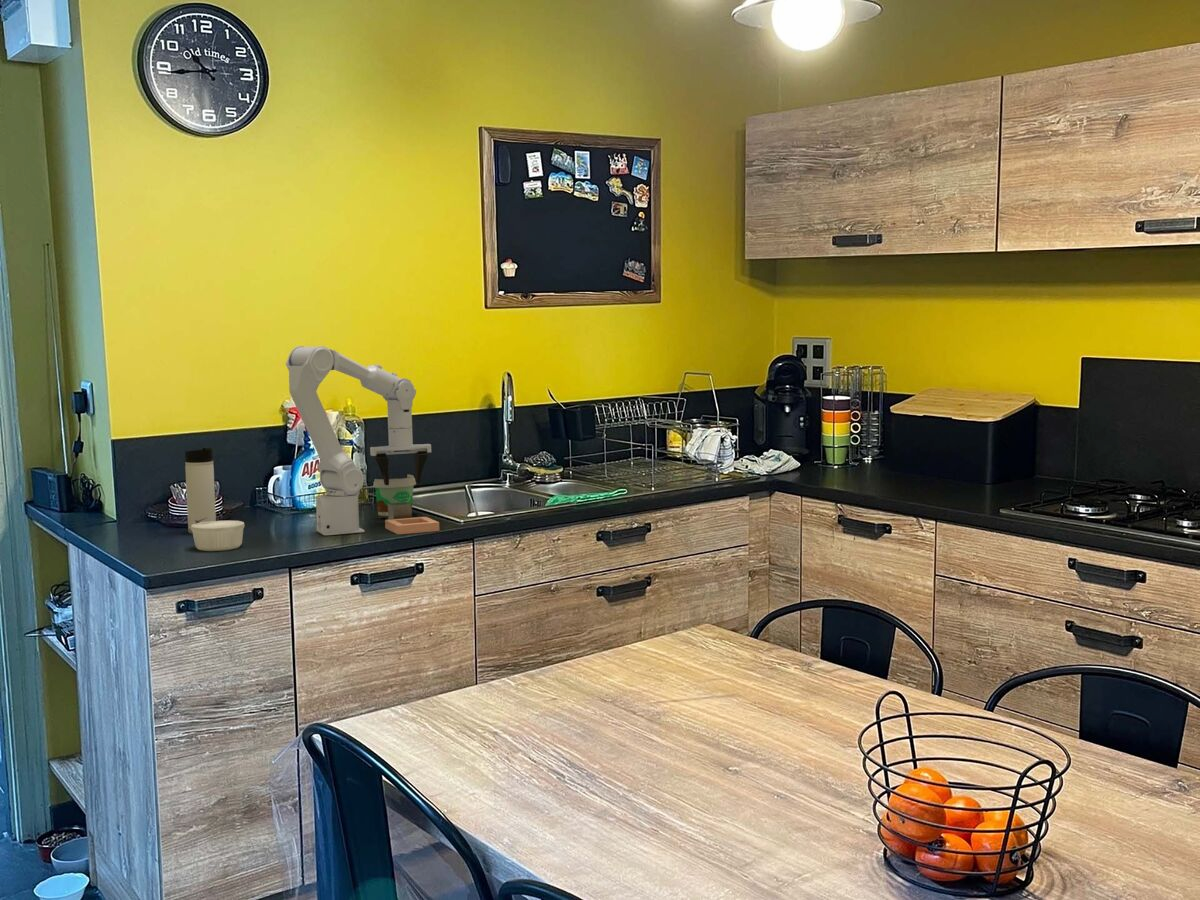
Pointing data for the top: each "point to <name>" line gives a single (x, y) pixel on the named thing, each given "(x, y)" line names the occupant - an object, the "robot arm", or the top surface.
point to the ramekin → (218, 535)
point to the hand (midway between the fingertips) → (402, 483)
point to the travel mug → (200, 486)
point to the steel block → (399, 510)
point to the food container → (393, 493)
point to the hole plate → (412, 525)
